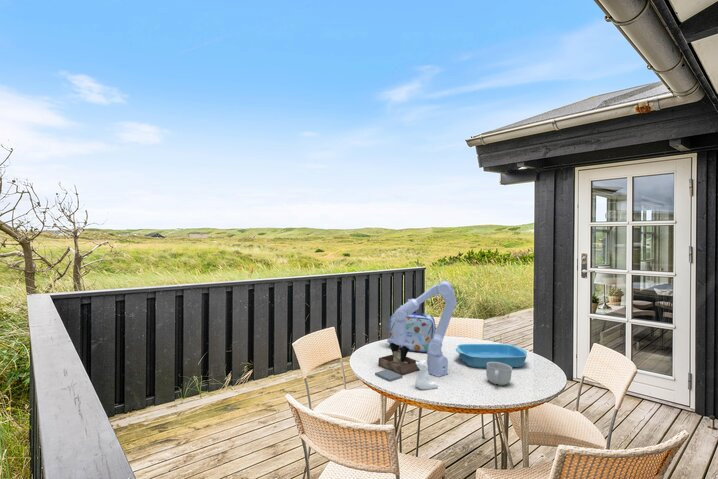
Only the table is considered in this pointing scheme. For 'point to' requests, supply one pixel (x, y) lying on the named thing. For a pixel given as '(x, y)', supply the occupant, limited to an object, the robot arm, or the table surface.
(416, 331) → the lunch box
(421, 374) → the white creature statuette
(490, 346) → the casserole dish
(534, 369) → the table surface
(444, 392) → the table surface
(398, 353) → the metal block
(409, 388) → the table surface
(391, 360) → the walnut crate
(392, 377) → the slate mat
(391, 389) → the table surface
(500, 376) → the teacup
